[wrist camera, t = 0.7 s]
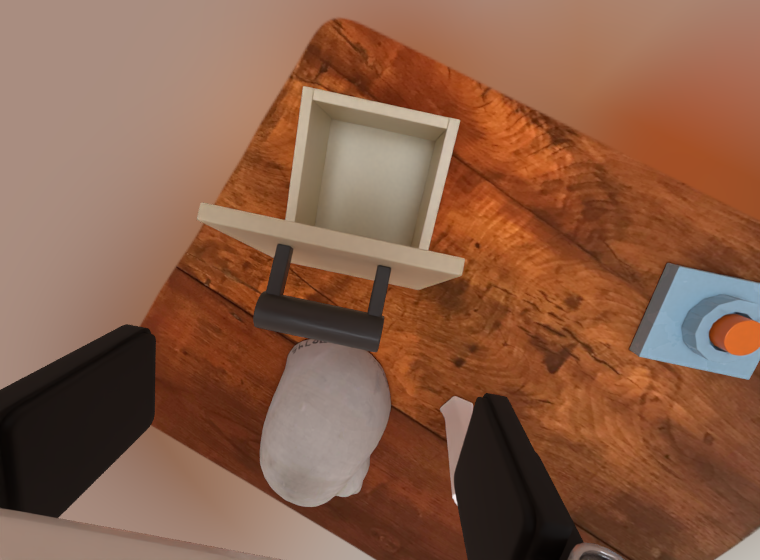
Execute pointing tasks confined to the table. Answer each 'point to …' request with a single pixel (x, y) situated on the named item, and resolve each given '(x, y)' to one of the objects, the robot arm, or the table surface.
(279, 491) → the grey rounded lump
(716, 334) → the button
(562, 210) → the table surface
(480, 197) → the table surface
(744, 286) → the box
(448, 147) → the chest
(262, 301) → the lid
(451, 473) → the perfume bottle
